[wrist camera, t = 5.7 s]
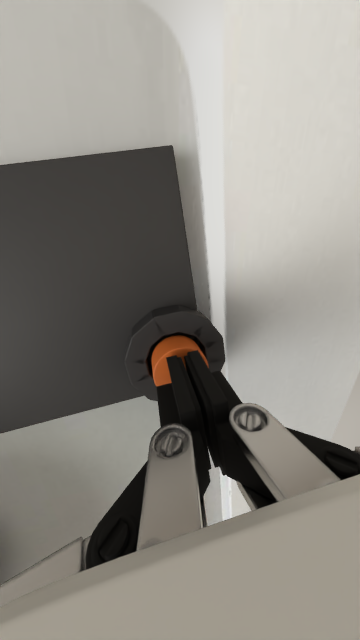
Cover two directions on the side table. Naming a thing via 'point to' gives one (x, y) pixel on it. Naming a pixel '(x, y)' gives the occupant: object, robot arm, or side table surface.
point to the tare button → (171, 348)
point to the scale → (91, 282)
